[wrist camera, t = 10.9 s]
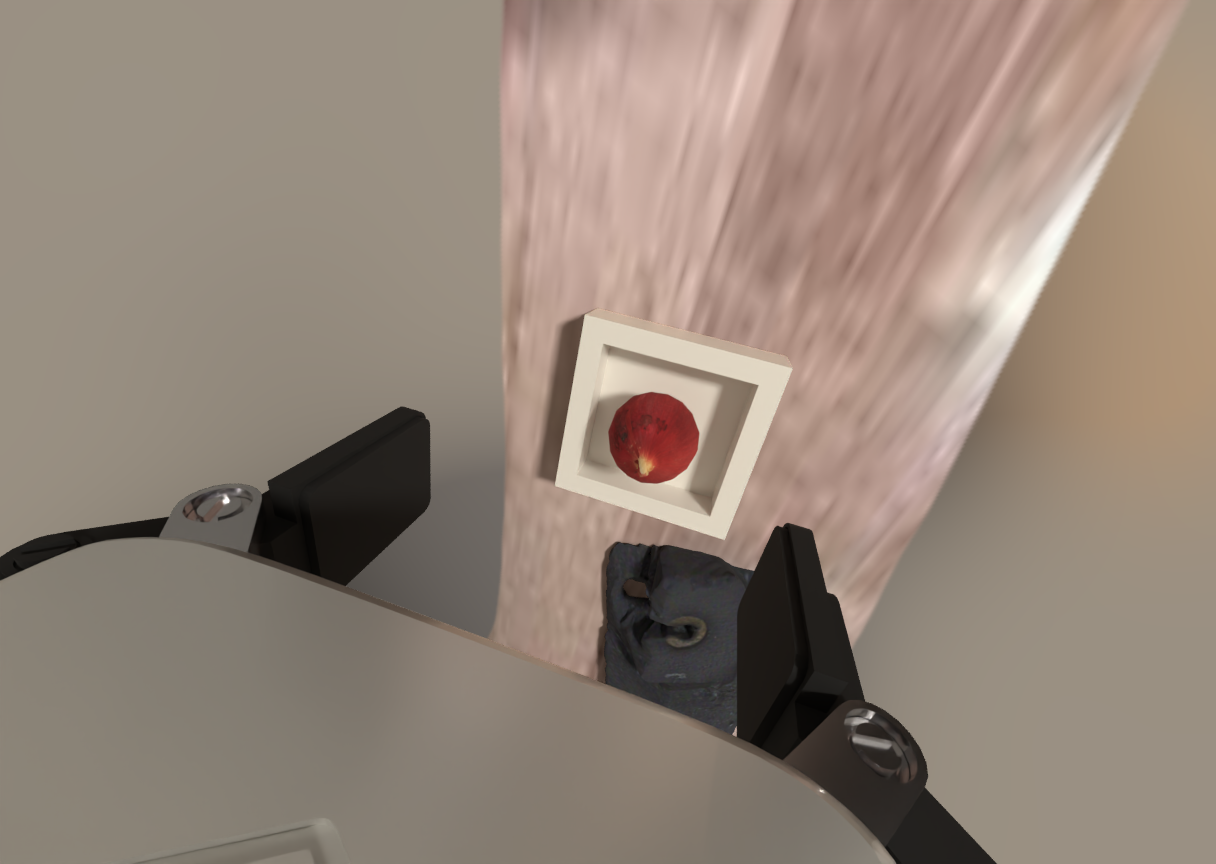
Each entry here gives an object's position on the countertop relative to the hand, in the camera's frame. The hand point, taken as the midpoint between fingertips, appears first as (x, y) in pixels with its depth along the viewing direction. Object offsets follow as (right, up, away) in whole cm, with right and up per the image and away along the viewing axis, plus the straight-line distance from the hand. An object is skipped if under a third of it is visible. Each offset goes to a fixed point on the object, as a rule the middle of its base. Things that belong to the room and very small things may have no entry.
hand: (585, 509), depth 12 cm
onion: (+4, +3, +21) cm, 22 cm away
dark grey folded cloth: (+7, -17, +30) cm, 35 cm away
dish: (+5, +3, +21) cm, 22 cm away
